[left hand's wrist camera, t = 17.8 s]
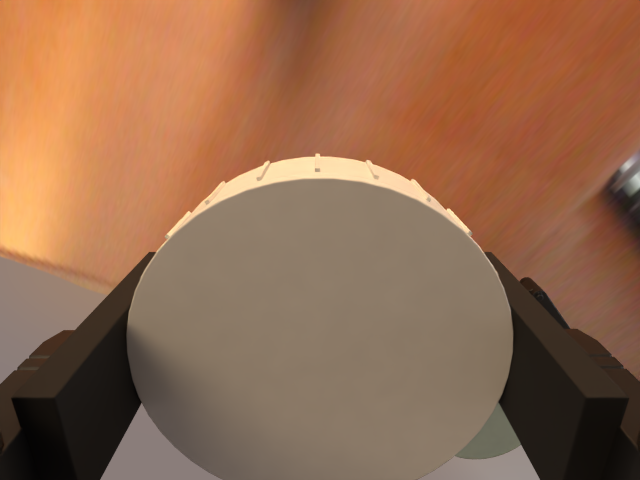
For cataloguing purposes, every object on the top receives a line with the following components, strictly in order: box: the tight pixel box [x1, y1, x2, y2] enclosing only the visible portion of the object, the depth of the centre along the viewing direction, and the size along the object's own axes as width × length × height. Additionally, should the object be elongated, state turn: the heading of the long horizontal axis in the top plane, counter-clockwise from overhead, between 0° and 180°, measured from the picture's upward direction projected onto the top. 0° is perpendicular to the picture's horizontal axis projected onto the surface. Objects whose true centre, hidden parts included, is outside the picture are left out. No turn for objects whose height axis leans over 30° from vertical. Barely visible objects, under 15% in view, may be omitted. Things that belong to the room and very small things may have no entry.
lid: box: [126, 154, 513, 480], centre depth 12 cm, size 9×9×2 cm
